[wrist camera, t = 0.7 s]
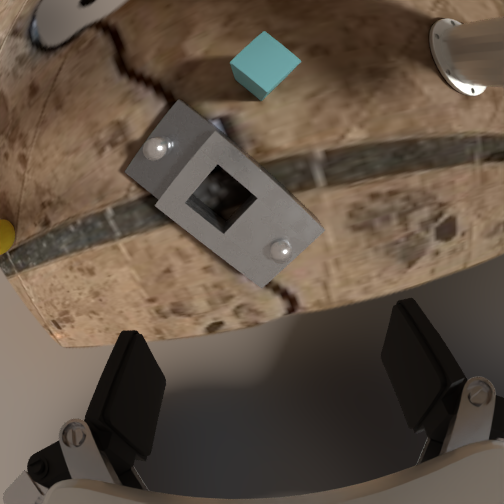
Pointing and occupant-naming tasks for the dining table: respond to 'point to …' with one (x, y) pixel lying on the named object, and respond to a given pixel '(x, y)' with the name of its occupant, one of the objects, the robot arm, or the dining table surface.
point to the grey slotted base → (205, 219)
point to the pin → (263, 65)
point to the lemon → (6, 235)
